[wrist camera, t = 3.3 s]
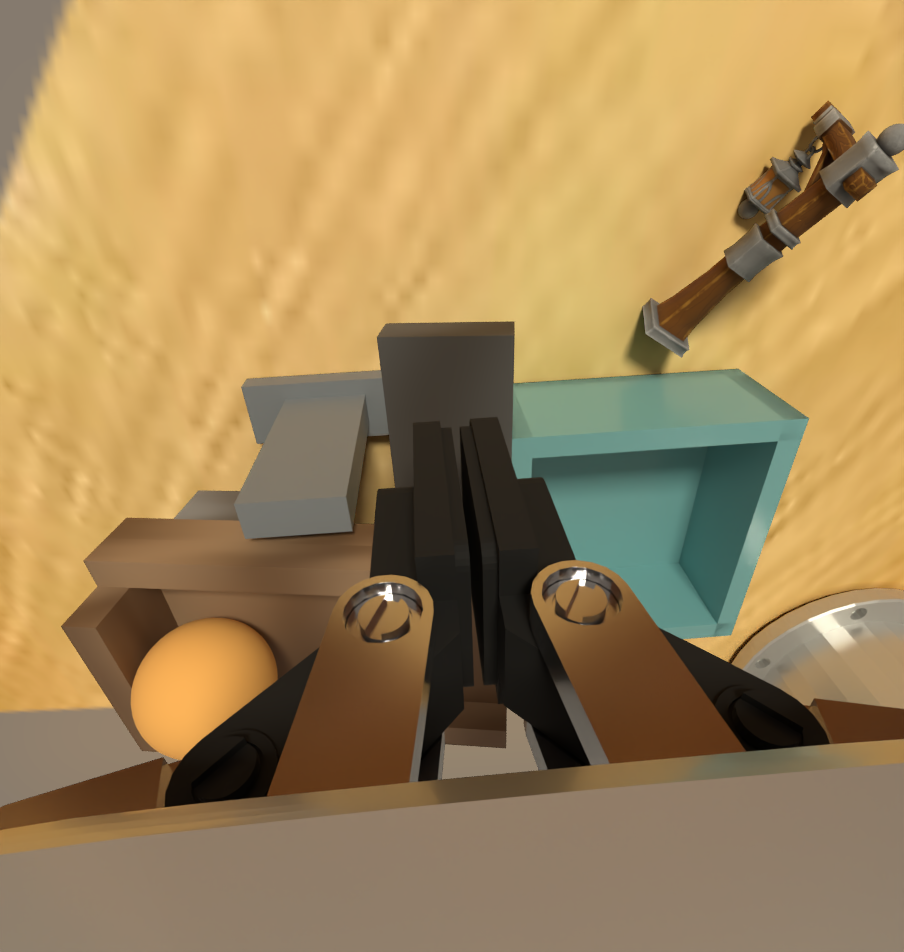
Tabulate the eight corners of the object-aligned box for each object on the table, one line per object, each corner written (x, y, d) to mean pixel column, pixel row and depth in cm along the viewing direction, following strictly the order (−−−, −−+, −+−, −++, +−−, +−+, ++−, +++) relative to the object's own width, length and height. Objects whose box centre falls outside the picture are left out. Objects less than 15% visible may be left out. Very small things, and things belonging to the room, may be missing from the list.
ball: (302, 608, 17) (258, 725, 13) (285, 681, 19) (244, 799, 16) (173, 577, 16) (95, 692, 13) (171, 656, 18) (103, 773, 15)
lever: (513, 289, 15) (515, 381, 9) (506, 632, 22) (505, 794, 17) (112, 298, 16) (-97, 382, 10) (235, 620, 23) (152, 767, 18)
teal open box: (738, 368, 21) (809, 418, 17) (686, 565, 27) (731, 635, 23) (491, 384, 21) (508, 438, 17) (491, 580, 27) (504, 653, 23)
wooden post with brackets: (882, 97, 16) (942, 162, 13) (671, 289, 22) (682, 361, 19) (845, 57, 15) (899, 118, 13) (638, 266, 21) (645, 337, 19)
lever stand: (403, 368, 20) (399, 473, 14) (425, 598, 27) (430, 740, 21) (246, 378, 20) (169, 489, 14) (308, 607, 27) (276, 753, 20)
